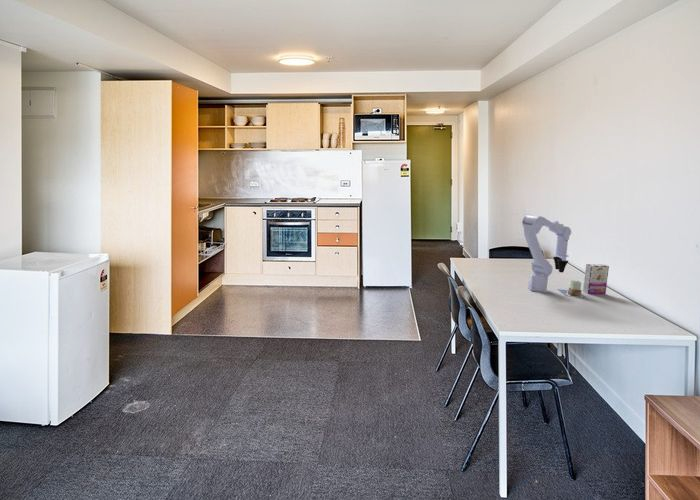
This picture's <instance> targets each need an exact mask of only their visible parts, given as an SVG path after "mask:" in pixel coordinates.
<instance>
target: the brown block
mask: <svg viewBox="0 0 700 500" xmlns="http://www.w3.org/2000/svg"><path fill="white" fill-rule="evenodd" d="M568 290H569V291H568V294H569V295H570V296H577V297H576V298H581V294H582V292H583V289H580V290H573V289H571V288H570V287H568Z"/></svg>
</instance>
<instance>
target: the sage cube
mask: <svg viewBox="0 0 700 500" xmlns="http://www.w3.org/2000/svg"><path fill="white" fill-rule="evenodd" d="M569 288H571V289H573V290H582V282H581V281H579V280H570V286H569Z"/></svg>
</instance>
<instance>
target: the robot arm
mask: <svg viewBox="0 0 700 500" xmlns="http://www.w3.org/2000/svg"><path fill="white" fill-rule="evenodd" d="M521 225H522V227H523V232H524V233H523V235H524V237H525V240H526V243H527V245H528V249H529V252H530V254H531V256H532V259H533V260H532V261H531V270H532V272H533V273H531V274H530V275H529V276H528V277H529V279H528V285H527V286H528V287H527V289H529V290H530V292H543V293H544V292H545V293H549V292H550V291H549V290H548V289H547V288H548V281H549V276H550V275H551V274H552V273H553V271H554V270H553V266H552V264H550V261H549V260H548V259H547V258H545V256H544V254H543V251H542V248H541V246H540V242H539V239H538V237H537V234H539V233H540V231H541V229H542V228H543V226H544V227H546V228H548V230H549V231H550V232H552V233H554V234H555V235H556V236H557V237H556V246H555V254H554V256H552V258H553V261H554V268H555V270H558V272H559V273H564V271H565V269H566V267H567V265H568V264H569V260H567V257H568V258H569V254H567V253H568V245H569V240H570V236H571V234H572V229H571V228H570V227H569V226H566V225H564V224H563V223H560V222H559V221H558V220H555V221H551V220H549V219H547V218H546V217H544V216H542V215H539V216H538V215H532V214H526V215H524V217H523V218H522V221H521Z"/></svg>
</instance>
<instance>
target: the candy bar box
mask: <svg viewBox="0 0 700 500" xmlns="http://www.w3.org/2000/svg"><path fill="white" fill-rule="evenodd" d="M609 268H610V266H609V265H607V264H603V263H601V264H599V263H598V264H595V263H593V264H591V263H589V264H588V263H587V264H585V272H584V279H583V280H584V282H583V288H582V293H584V294H587V295H606V292H607V285H608V277H609V271H610V270H609Z"/></svg>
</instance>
